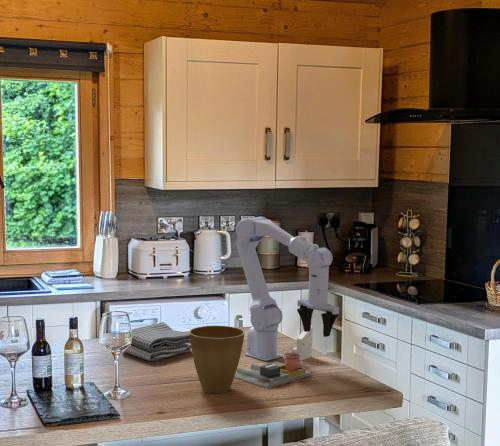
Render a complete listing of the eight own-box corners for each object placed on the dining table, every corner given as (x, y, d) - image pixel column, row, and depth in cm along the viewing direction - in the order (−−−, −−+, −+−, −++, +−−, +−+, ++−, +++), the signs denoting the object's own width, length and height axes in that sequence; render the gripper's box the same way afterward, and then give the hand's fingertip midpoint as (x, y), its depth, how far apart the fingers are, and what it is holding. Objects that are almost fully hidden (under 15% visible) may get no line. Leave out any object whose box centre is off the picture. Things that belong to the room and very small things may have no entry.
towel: (119, 353, 237) (119, 329, 236) (163, 343, 251) (163, 320, 250) (150, 364, 227) (150, 338, 226) (194, 352, 240) (195, 328, 240)
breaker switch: (260, 377, 212) (260, 365, 212) (269, 374, 215) (270, 362, 215) (270, 380, 209) (270, 368, 209) (280, 377, 212) (280, 365, 212)
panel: (232, 376, 216) (232, 368, 216) (275, 364, 229) (275, 356, 228) (267, 388, 206) (268, 379, 206) (310, 375, 219) (310, 367, 218)
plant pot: (254, 390, 204) (256, 332, 203) (212, 402, 194) (214, 341, 192) (218, 377, 215) (219, 322, 213) (177, 387, 205) (178, 329, 203)
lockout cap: (280, 371, 217) (280, 354, 217) (289, 368, 221) (290, 352, 221) (292, 374, 214) (293, 357, 214) (302, 372, 218) (303, 354, 218)
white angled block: (319, 346, 241) (312, 325, 237) (303, 367, 235) (296, 346, 231) (310, 344, 244) (303, 323, 239) (294, 365, 237) (286, 344, 233)
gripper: (291, 286, 226) (289, 331, 228) (328, 294, 216) (327, 340, 217) (306, 284, 231) (305, 327, 233) (344, 291, 221) (342, 336, 222)
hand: (316, 333), depth 225 cm, fingers open, 7 cm apart
